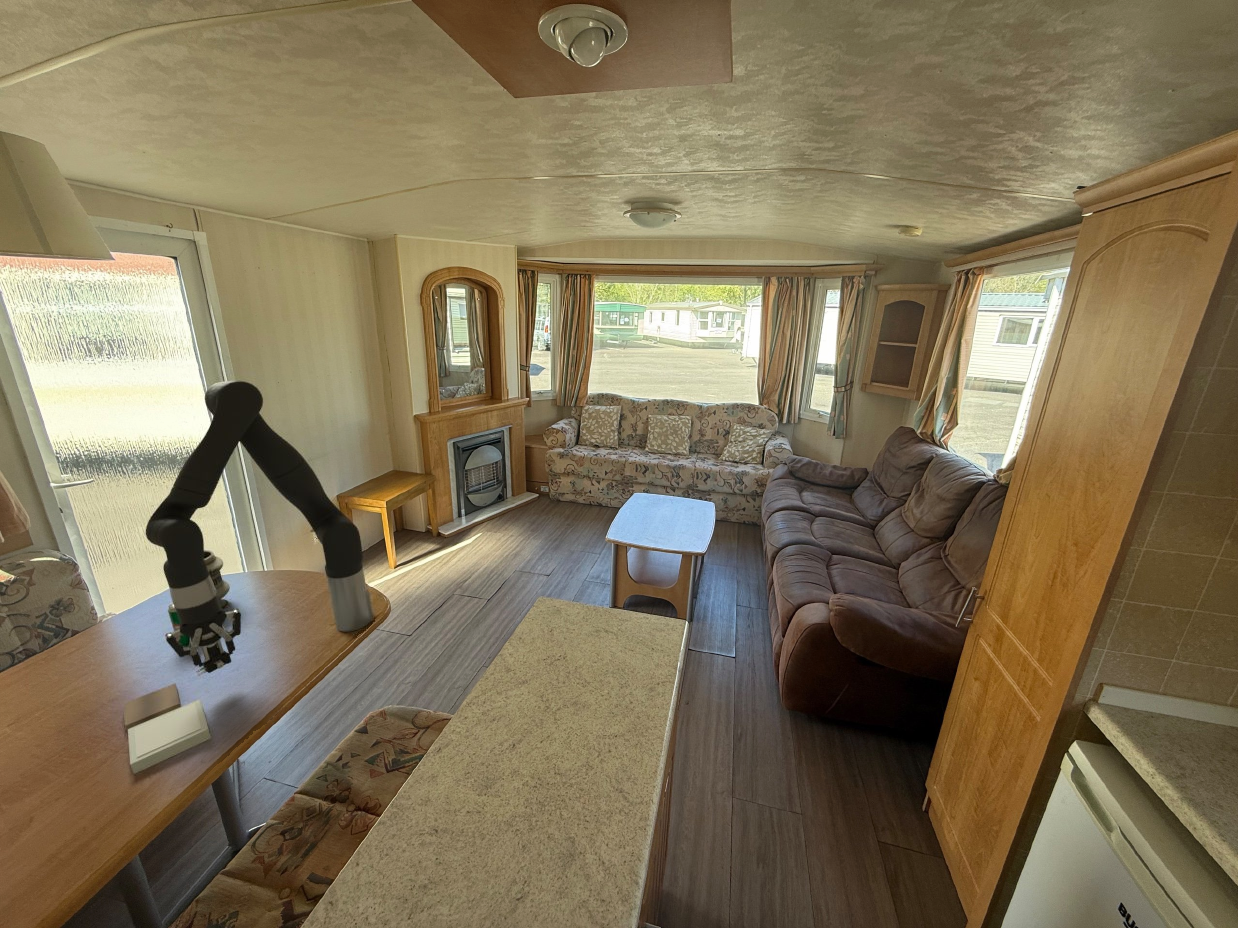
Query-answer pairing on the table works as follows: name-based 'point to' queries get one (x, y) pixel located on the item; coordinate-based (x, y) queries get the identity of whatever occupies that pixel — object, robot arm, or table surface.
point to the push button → (213, 653)
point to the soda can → (177, 625)
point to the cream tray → (167, 735)
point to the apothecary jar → (217, 576)
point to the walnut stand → (151, 706)
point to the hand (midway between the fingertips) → (215, 658)
